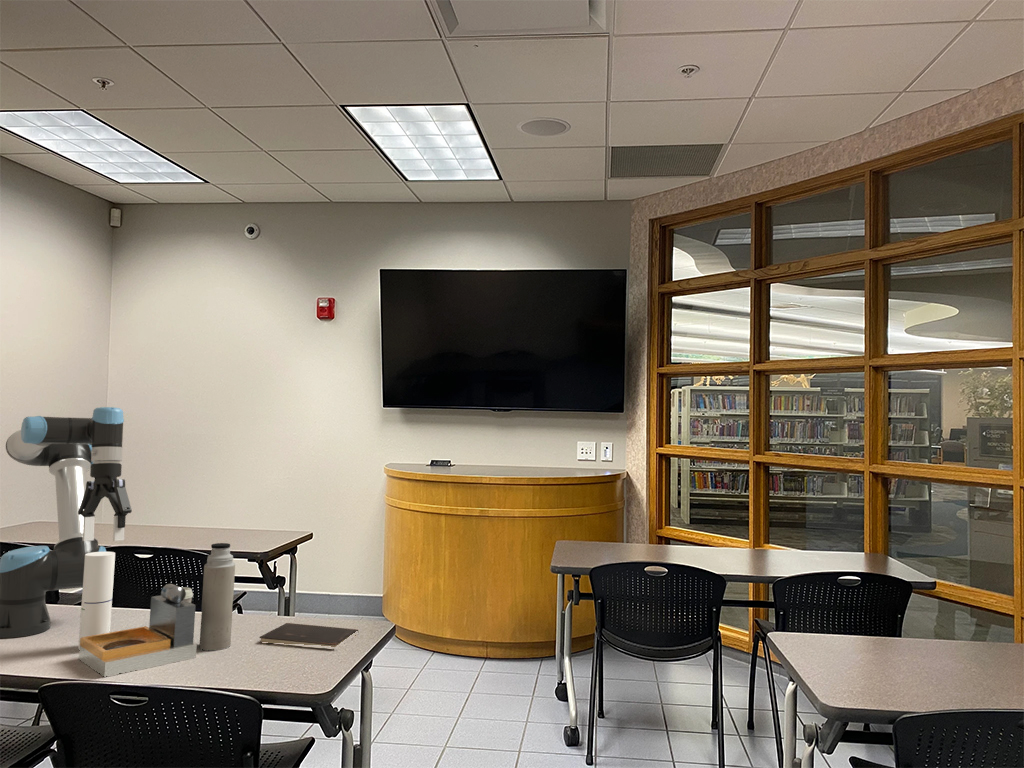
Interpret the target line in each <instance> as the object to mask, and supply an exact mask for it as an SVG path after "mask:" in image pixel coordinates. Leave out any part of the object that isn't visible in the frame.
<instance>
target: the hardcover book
mask: <svg viewBox="0 0 1024 768" xmlns="http://www.w3.org/2000/svg"><path fill="white" fill-rule="evenodd" d="M356 631H358V632H359V629H355V628H345V627H335V626H324V625H316V624H315V625H314V624H303V623H294V622H285V623H284V624H282V625H280V626H277V627H276V628H274V629H272V630H270V631H268V632H266V633H265V634H262V635H261V636H259V637H258V638H259V639H260V643H261V642H268V643H284V644H304V645H321V646H331V647H336V646H337V645H339V644H340V643H341V642H343V641H344V640H345V639H347V638H348V637H349V636H350V635H352V634H353V633H355V632H356Z"/></svg>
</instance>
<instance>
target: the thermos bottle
mask: <svg viewBox="0 0 1024 768" xmlns="http://www.w3.org/2000/svg"><path fill="white" fill-rule="evenodd" d="M210 545H211V552H210V554H209V555H207V560H206V563H205V564H204V566H203V580H202V596H201V597H202V600H201V615H200V616H201V617H200V618H201V619H200V629H199V630H200V631H199V632H200V633H199V649H200V650H202V649H203V650H202V651H208V650H214V651H220V650H221V649H222V650H224V648H225V649H227V647H228V648H229V646H230V647H231V643H232V627H233V625H232V624H233V603H234V593H235V592H234V589H235V578H236V577H235V575H236V573H235V572H236V563H235V562H233V561H234V555H233V554H231V548H230V547H231V544H230V543H225V542H217V543H213V544H210Z"/></svg>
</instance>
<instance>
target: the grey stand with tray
mask: <svg viewBox="0 0 1024 768" xmlns="http://www.w3.org/2000/svg"><path fill="white" fill-rule="evenodd" d="M181 587H182V586H181ZM181 587H180V586H178V585H176V584H173V583H167V584H165V585H163V587H162V589H161V591H160V595H155V596H151V597H150V607H149V608H150V609H149V624H148V625H149V627H148V626H146V625H145V626H139V627H133V628H127V629H121V630H117V631H115V630H114V631H110V633H104V634H98V635H93V636H87V637H81V638H80V651H79V650H78V651H79V652H78V653H79V654H78V660H79V661H80V660H81V662H82V663H83V662H84V663H83V664H85V665H86V664H87V665H88V667H89V666H90V667H91V668H90V667H89V668H90V669H92V668H93V669H94V670H95V671H94V670H93V669H92V670H93V671H94V672H96V671H97V672H98V673H97V672H96V673H97V674H99V673H100V674H101V675H102V676H101V675H100V674H99V675H100V676H101V677H103V676H104V677H103V678H107V677H106V676H109V677H111V676H110V675H114V676H117V675H116V674H118V675H120V674H119V673H123V674H126V673H125V672H128V673H131V672H130V671H132V672H136V671H135V670H137V671H141V670H145V669H149V668H154V667H159V666H164V665H169V664H173V663H177V662H182V661H186V660H187V659H188V660H192V659H196V658H197V646H198V644H197V643H196V642H194V636H195V619H196V607H197V606H196V604H194V603H192V602H191V603H190V602H187V601H185V600H184V598H185V596H186V592H185V590H184V589H183V588H181ZM87 665H86V666H87Z"/></svg>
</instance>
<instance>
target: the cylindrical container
mask: <svg viewBox="0 0 1024 768" xmlns="http://www.w3.org/2000/svg"><path fill="white" fill-rule="evenodd" d="M115 561H116V552H114V551H106V552H92V553H87V554H85V563H84V577H83V588H82V591H81V592H82V594H81V595H82V596H81V606H80V607H81V609H80V621H79V632H78V633H79V635H78V649H79V650H80V638H81V637H87V636H93V635H98V634H104V633H110V632H111V625H112V623H111V621H112V610H113V609H112V608H113V605H112V604H113V592H114V590H113V589H114V578H115V576H114V575H115V565H116V564H115ZM79 650H78V651H79Z"/></svg>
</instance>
